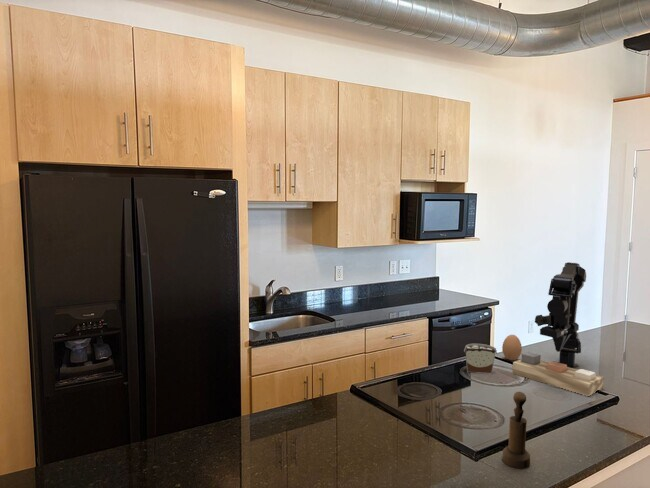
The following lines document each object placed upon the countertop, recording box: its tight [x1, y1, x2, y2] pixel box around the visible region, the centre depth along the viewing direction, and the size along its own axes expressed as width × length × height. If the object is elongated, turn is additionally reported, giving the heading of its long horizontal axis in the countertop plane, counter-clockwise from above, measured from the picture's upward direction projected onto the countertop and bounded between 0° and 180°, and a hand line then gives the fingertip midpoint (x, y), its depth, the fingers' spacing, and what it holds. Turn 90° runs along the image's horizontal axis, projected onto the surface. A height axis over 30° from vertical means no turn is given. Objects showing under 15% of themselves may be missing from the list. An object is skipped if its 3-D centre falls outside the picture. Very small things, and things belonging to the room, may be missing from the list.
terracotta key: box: [547, 361, 567, 373], centre depth 180 cm, size 5×5×3 cm
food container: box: [463, 343, 498, 375], centre depth 190 cm, size 12×6×10 cm, turn 84°
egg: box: [501, 334, 523, 362], centre depth 204 cm, size 8×8×11 cm
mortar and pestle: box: [501, 391, 531, 469], centre depth 122 cm, size 7×6×18 cm
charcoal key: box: [521, 351, 542, 365], centre depth 188 cm, size 5×5×3 cm
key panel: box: [511, 358, 605, 396], centre depth 181 cm, size 12×28×4 cm, turn 39°
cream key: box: [574, 368, 597, 381], centre depth 173 cm, size 5×5×3 cm
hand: (558, 351), depth 181 cm, fingers closed
